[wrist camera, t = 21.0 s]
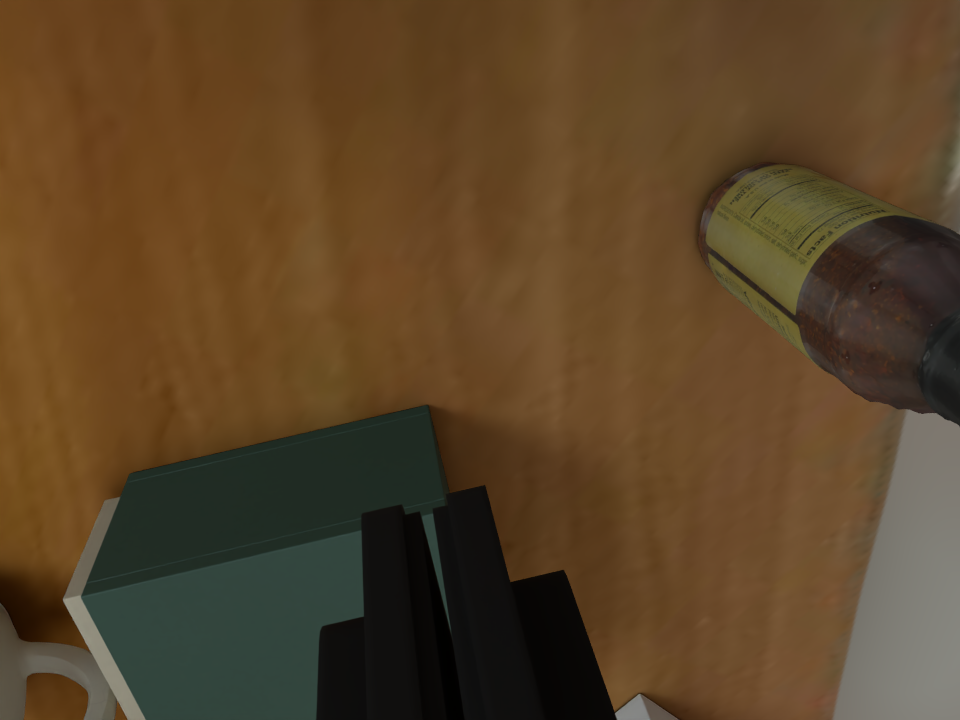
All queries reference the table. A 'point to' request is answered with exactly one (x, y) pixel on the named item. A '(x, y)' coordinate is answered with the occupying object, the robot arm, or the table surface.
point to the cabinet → (252, 564)
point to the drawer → (85, 621)
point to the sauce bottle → (843, 281)
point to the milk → (643, 710)
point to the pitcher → (10, 660)
